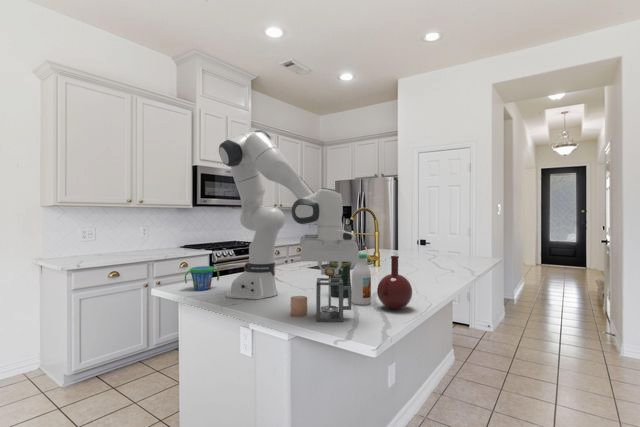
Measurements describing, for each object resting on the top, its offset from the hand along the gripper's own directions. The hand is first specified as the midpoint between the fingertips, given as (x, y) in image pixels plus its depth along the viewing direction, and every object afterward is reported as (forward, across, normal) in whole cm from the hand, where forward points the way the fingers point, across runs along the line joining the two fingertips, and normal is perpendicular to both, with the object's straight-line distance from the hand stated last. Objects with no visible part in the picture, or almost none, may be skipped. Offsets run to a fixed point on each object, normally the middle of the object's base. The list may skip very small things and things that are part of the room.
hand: (329, 274), depth 125 cm
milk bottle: (+15, +13, +21) cm, 29 cm away
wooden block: (+15, -11, +4) cm, 19 cm away
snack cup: (+15, -60, +44) cm, 76 cm away
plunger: (+12, 0, 0) cm, 12 cm away
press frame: (+15, +2, 0) cm, 15 cm away
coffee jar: (+15, +5, +34) cm, 38 cm away
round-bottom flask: (+15, +25, +13) cm, 32 cm away
